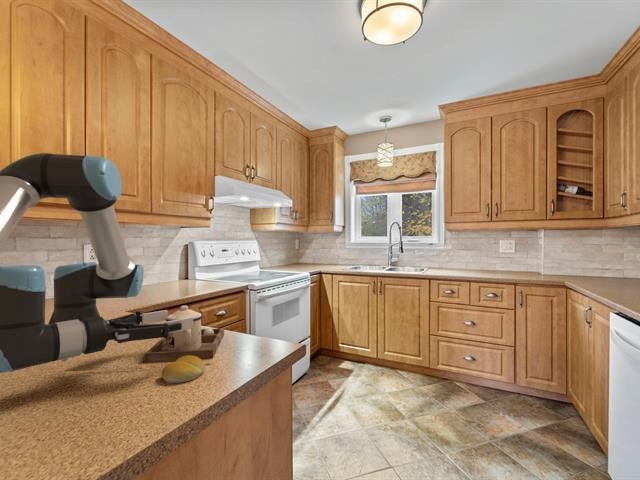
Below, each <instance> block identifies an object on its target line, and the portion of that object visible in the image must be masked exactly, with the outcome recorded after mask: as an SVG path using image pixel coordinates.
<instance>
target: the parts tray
mask: <svg viewBox="0 0 640 480" xmlns="http://www.w3.org/2000/svg"><path fill="white" fill-rule="evenodd" d="M206 329H207V328H201V347H200V348H199V349H198V350H182V351H167V338H165V339H164V337H163V338H160V339H159V340H158V341H157V342H156V343H155V344H154V345H153V346H151V347H150V349H148V350H147V351H146V352H145V353H144V363H155V362H156V363H157V362H175V361H176V360H177V359H179V358H180V357H183V356H188V355H190V356H196V357H198V358H200V359H201V360H205V359H214V358H215V356H216V354H217V352H218V349H219V347H220V345H221V343H222V340H223V338H224V336H225V328H224V327H221V328H211V329H212V330H213V331H214V334H210V335H204V331H205V330H206Z"/></svg>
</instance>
